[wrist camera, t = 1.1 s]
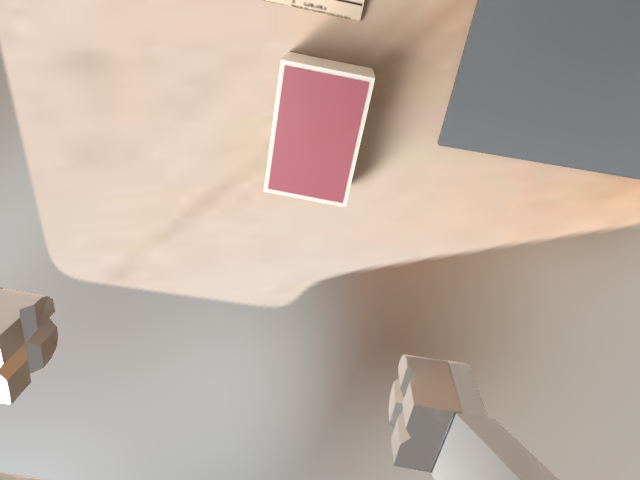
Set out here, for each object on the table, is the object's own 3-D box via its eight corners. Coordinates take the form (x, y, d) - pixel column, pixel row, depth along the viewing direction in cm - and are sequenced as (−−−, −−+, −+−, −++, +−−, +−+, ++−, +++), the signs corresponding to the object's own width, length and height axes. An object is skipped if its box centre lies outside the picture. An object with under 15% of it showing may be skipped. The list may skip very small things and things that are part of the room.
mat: (537, -212, 25) (541, -216, 24) (821, -160, 25) (831, -164, 25) (437, 143, 34) (438, 145, 34) (645, 178, 35) (649, 181, 34)
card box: (289, 51, 32) (280, 59, 28) (372, 68, 33) (375, 78, 29) (273, 170, 37) (263, 191, 33) (346, 184, 37) (345, 207, 33)
